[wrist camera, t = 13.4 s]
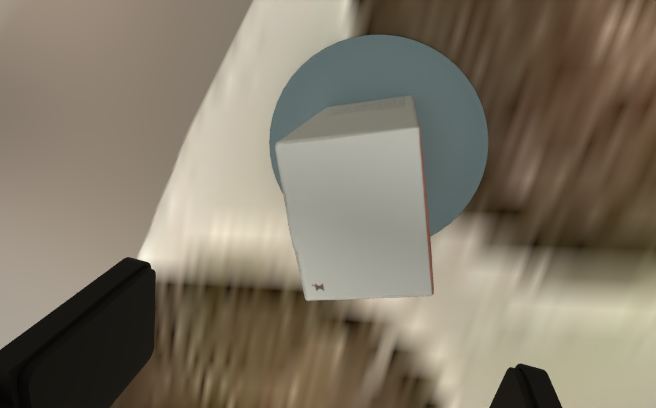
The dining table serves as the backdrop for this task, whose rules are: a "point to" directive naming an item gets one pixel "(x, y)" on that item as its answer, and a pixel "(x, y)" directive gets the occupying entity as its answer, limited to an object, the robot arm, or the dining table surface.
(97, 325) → the robot arm
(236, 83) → the dining table surface
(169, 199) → the dining table surface
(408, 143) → the small box
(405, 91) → the dish
